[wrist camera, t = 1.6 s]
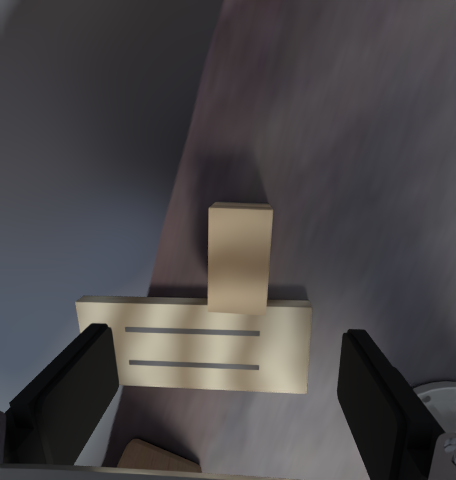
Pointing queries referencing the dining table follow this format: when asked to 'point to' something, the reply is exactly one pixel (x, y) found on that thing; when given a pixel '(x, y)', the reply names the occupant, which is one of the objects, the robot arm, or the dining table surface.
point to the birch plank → (204, 343)
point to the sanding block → (239, 257)
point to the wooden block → (154, 458)
